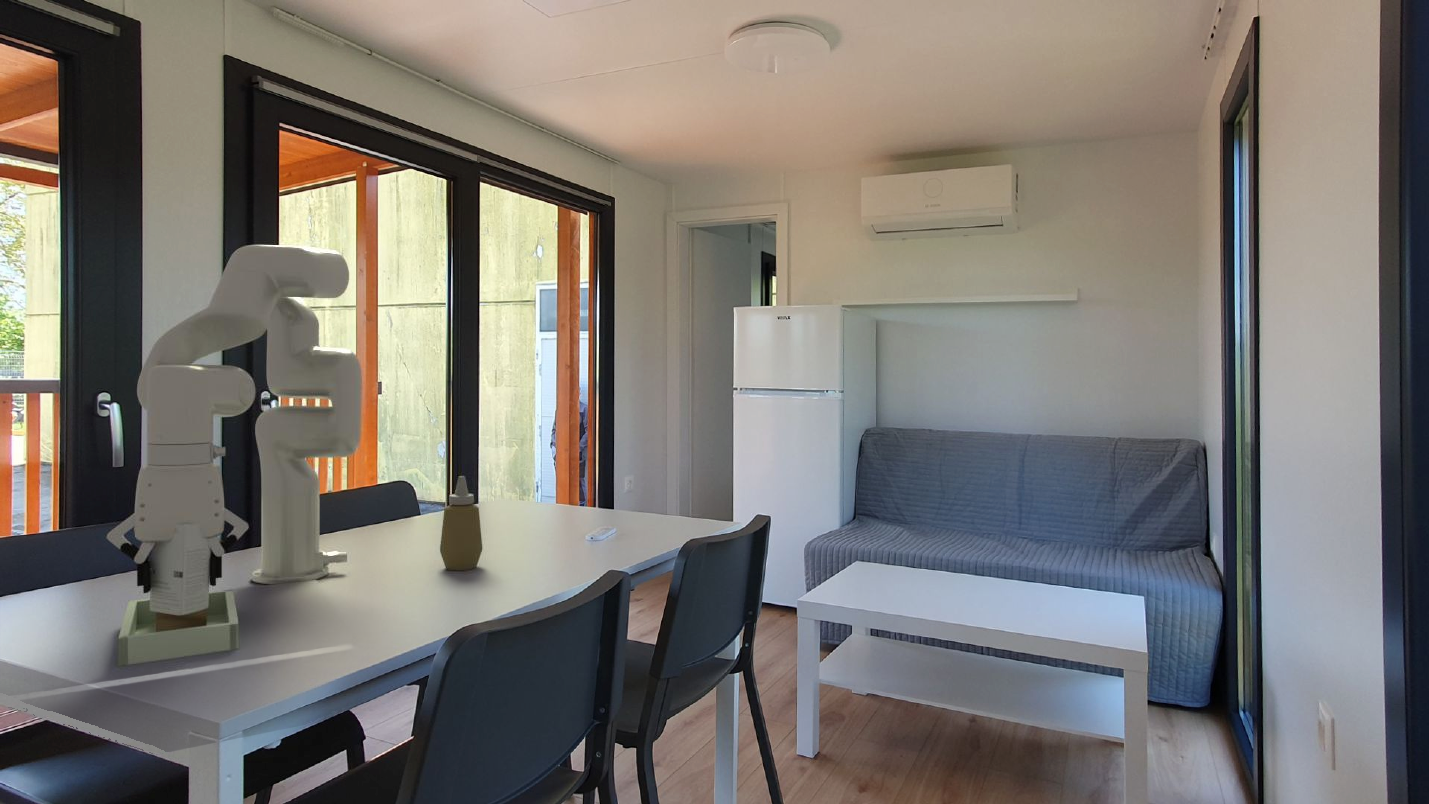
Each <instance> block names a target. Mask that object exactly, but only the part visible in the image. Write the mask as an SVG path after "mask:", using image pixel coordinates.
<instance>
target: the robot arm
mask: <svg viewBox="0 0 1429 804" xmlns="http://www.w3.org/2000/svg"><path fill="white" fill-rule="evenodd" d="M227 261H228V262H227V264H226V266H225V268H224V270H223V272H222V275H221V277H220V280H219V282H218V284H217V286H216V288H215V290H214V293H213V294H212V297H211V300H210V302H209V304H208V306H207V307H206V308H204V309H202V310H200V311H198V312H195V313H194V314H193V315H189V316H188V317H187V318H186V319H184V320H183V321H180V322H178V324H176V325H175V326H173V327H172V328H170V329H168V330H167V331H166V332H164V333H163V334H162V335H161V336H160V337H159V338H158V339H157V340H156V342H154V344H153V345H152V347H151V349H150V352H149V353H148V356H147V357H146V360H145V362H144V364H143V366H142V368H141V371H140V374H139V377H138V380H137V388H136V394H137V395H136V396H137V399H138V402H139V404H140V406H141V407H142V408H143V409H144V410H145V411H146V466H141V467H140V470H139V471H138V477H137V482H136V490H135V501H134V513H132V514H131V515H130V516H129V517H127V518H126V519H125V520H123V521H122V522H121V523H119V524H118V525H117V526H115V528H113V529H111V531H109V532H108V533H107V535H106V539H107V540H108V541H109V542H110V543H111V544H112V545H114V547H116V548H118V549H119V550H120V551H121V552H122V553H123V554H124V555H126V556H127V557H129V558H130V559H131V560H132V561H134V563H136V575H137V576H136V585H137V587H142V586H143V587H142V588H143V589H142V590H143V591H142V592H143V594H148V593H150V589H151V559H150V556H149V554H150V552H152V547H153V546H154V544H155V543H158V542H170V541H171V540H173V538H174V533H175V526H176V525H180V524H195V523H197V524H199V525H200V532H201V537H202V538H206V539H207V538H209V539H208V544H209V546H210V548H211V552H210V578H209V586H211V587H214V586H215V587H216V586H217V579H221V578H223V555H224V554H225V553H226V552H227V551H228V550H230V548H231V547H232V546H233V545H235V544H236V542H237V541H238V540H239V539H240V538H241V537H242V536H243V535H244V534H245V532H247V531H248V530H249V527H250V526H249V523H248V522H247V521H246V520H243V519H242V518H240V517H239V516H238V515H236V514H235V513H233V512H232V511H231V510H230V509H229V510H228V509H227V508H226V507H225V496H224V495H225V494H224V484H223V476H222V472H221V471H222V470H221V466H220V464H217V463H214V460H216V459H217V458H220V457H226V446H219V445H216V444H214V418H228V417H235V416H239V415H241V414H243V413H245V412H246V411H247V410H249V409H250V407H251V406H252V404H253V403H254V402H255V398H256V385H255V381H254V379H253V378H252V376H251V375H250V373H248V372H247V371H246V370H244V369H242V368H240V367H238V366H235V365H224V364H200V363H199V364H195V363H196V361H199V360H200V359H202V358H205V357H207V356H209V355H212V354H214V353H218V352H221V351H225V350H229V349H232V348H235V347H238V346H241V345H244V344H247V343H250V342H252V341H255V340H258V339H259V338H261V337H262V336H263V335H264V334H265V333H267V334H266V335H267V337H266V382H267V386H268V387H267V388H268V390H269V392H270V393H271V394H272V395H274V396H276V397H279V398H284V399H304V400H306V399H311V400H312V399H313V400H315V399H316V400H318V399H319V400H329V401H331V406H323V405H322V406H316V405H315V406H313V405H278V406H274V407H270V408H268V409H266V410H264V411H262V412H261V413H260V415H259V416H258V417H257V419H256V422H255V426H254V428H255V430H254V431H255V432H254V433H255V439H256V445H257V450H258V455H259V462H260V473H261V474H260V475H261V482H260V483H261V505H260V506H261V510H260V512H261V514H260V515H261V518H260V519H261V525H260V527H261V535H260V536H261V558H260V559H261V568H258V569H256V570H254V571H253V572H251V580H252V581H253V582H254V583H257V584H258V583H259V584H264V585H280V584H290V583H300V582H309V581H315V580H317V579H321V578H324V577H325V576H327V575H328V574H329V570H330V568H329V564H339V563H340V564H341V563H347V562H348V554H347V552H346V551H344V552H338V551H331V552H325V551H323V549H322V548H321V546H320V492H321V491H320V489H321V486H320V485H321V484H320V483H321V482H320V479H319V475H318V474H317V472H316V470H314V468H313V466H312V465H311V464H310V463H309V461H307V459H311V458H313V459H314V458H316V459H317V458H318V459H321V458H322V459H325V458H327V459H329V458H330V459H332V458H348V457H351V456H353V455H354V454H355V453H356V452H357V451H358V449H359V446H360V444H361V436H362V405H363V404H362V397H363V395H362V394H363V392H362V391H363V388H362V387H363V375H362V367H361V366H362V365H361V363H360V361H359V360H360V359H359V358H358V356H357V355H356V354H355V353H354V352H353V351H351V350H349V349H346V348H341V347H320V323H319V319H318V317H317V315H316V314H315V312H314V310H313V309H312V308H311V306H309V304H308V303H307V302H306V301H305V299H303V298H307V299H308V298H310V299H312V298H314V299H335V298H336V299H337V298H339V297H341V296H342V295H343V294H345V292H346V290H347V288H348V286H349V281H350V270H349V267H348V263H347V261H346V259H345V258H344V257H343V255H342V254H341V253H339V252H338V251H336V250H330V249H324V248H322V249H321V248H316V247H309V246H299V245H276V244H275V245H274V244H250V245H249V244H248V245H244V246H241V247H240V248H237V249H236V250H235V251H234V252H232V254H231V255H230V258H229V260H227ZM266 331H267V332H266ZM225 522H227V523H228V524H230V525H231V526H232V527H233V530H231V532H230V533H229V534H227V535H226V536H225V537H224V538H223V539H222V540H220V539H219V536H220V535H222V534H223V532H224V529H225ZM131 529H133V531H134V536H135V539H136V540H137V541H139V542H140V543H141V542H142V543H141V544H140V546H139V547H138V546H137V545H135V544H134V543H132V542H130V541H129V540H127V538H126V537H125V536H124V535H125V534H126V533H127V532H129V531H130V530H131Z"/></svg>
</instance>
